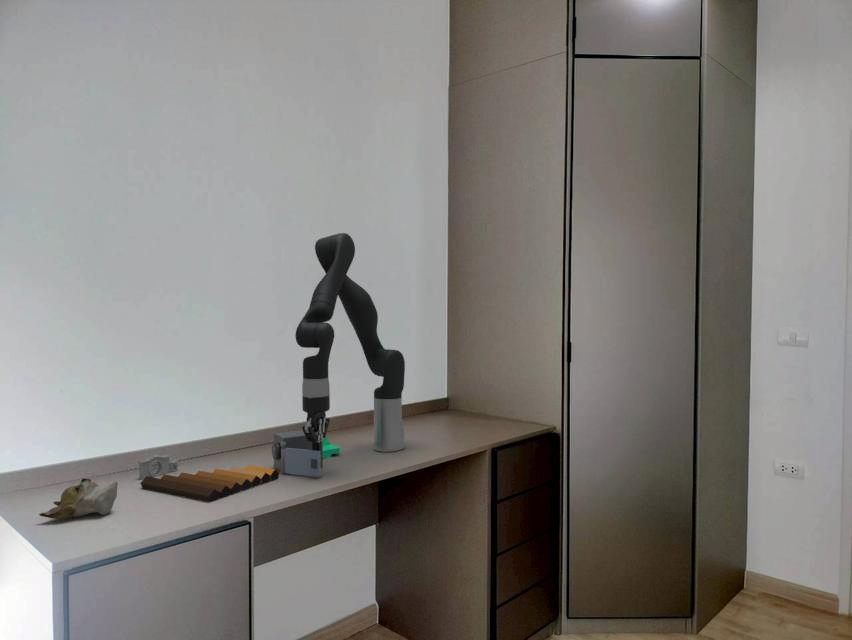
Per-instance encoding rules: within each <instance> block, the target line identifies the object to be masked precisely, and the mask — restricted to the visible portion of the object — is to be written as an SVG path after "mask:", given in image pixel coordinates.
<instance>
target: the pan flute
mask: <svg viewBox="0 0 852 640" xmlns="http://www.w3.org/2000/svg"><path fill="white" fill-rule="evenodd" d="M279 476H280V472H279V470H278V471H277V469H276V468H268V467H260V466H254V465H248V464H247V466H246V467H245V468H241V467H240V468H239V467H234V466H231V467H230V469H229V470H226V469H220V468H219V469H218V468H215V469H213V471H212V472H210V471H203V470H198V471H197V472H195V474H194V473H186V472H180V473H179V475H178V476H175V475H170V474H166V473H165V474H162V476H161V477H160V478H157V477H148V476H146V477H145V478H144V479H142V480H141V482H140V486H141V488H142V489H144V490H150V491H153V492H159V493H163V494H169V495H172V496H174V495H175V496H179V497H182V498H188V499H193V500H198V501H203V502H209V503H212V502H215V501H218V500H219V499H224V498H226V497H230V495H236V494H239V493H241V492H243V491H246V490H249V488H250V489H251V488H252V487H253V488H255V486H256V487H259V486H260V485H264V483H265V484H267V483H270V482H273V481H276V480H278V479H279ZM258 485H259V486H258ZM240 490H241V491H240Z"/></svg>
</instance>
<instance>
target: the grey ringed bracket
mask: <svg viewBox="0 0 852 640" xmlns="http://www.w3.org/2000/svg"><path fill="white" fill-rule="evenodd" d="M170 457H171V455H169V454H168V453H167V454H165V455H158V454H157V455H156V454H155V455H150V456H149V457H148V458H147V459H143V460H139V461H137V463H138V464H139V465H138V466H139V467H138V468H139V469H138V470H139V471H138V472H139V475H138V476H139V479H140V480H143V479H144V478H145V477H146V476H148V477H153V478H156V477H159V476H160V475H164V474H165V475H166V474H168V473H173V472H176V471H178V467H179V466H178V462H179V460H178V459H175V460H173V461H172V460H171V461H170Z"/></svg>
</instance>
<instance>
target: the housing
mask: <svg viewBox="0 0 852 640" xmlns="http://www.w3.org/2000/svg"><path fill="white" fill-rule="evenodd" d="M321 445H322V454H321V455H320V469H321V468H323V467H324V464H323V463H324V458H323V441H322V442H321ZM282 447H285V448H295V449H306V450H312V442H308V441H307V439H306V436H305V434H304V432H303V430H302V429H301V430H294V431H293V430H291V431H284V432H283V431H282V432H275V433H274V432H273V443H272V445H271V455H272V456H271V457H272V459H273V469H275V470H278V471H280V472H281V448H282Z"/></svg>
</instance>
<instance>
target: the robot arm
mask: <svg viewBox="0 0 852 640" xmlns="http://www.w3.org/2000/svg"><path fill="white" fill-rule="evenodd" d="M314 251H315V255H316V258H317V260H318V262H319V264H320V266H321V268H322V269H323V271H324V273H325V275H324V276H323V277H322V279H320V281H319V282H318V283H317V285H316V287H315V288H314V290H313V293H312V296H311V300H310V303H309V308H308V310H307V311H306V312H305V314H304V316H303V317H302V319H301V320H300V321H299V324H298V325H297V327H296V330H295V337H294V338H295V341H296V343H297V345H298V346H299V347H301V348H303V349H304V348H305V349H309V348H310V349H312V348H313V349H318V352H317V354H315V355H311V356H306V357H305V358H304V359H303V360H302V384H301V385H302V386H301V388H302V389H301V392H302V394H301V395H302V397H301V398H302V399H301V400H302V402H301V403H302V411H303V412H304V413H306V425H303V426H302V428H301V430H303V432H304V434H305V436H306V439H307V441H308V442H312V450H316V451H320V455H321V454H322V445H321V442H322V441H323V438H325V436H326V437H327V432H328V429H329V425H330V422H331V421H330V420H331V419H330V418H327V415H326V413H327V412H328V411H329V410H330V408H331V402H330V401H331V398H330V389H331V388H330V380H329V361H330V356H331V350H332V347H333V343H334V339H335V329H334V328H333V326H332V324H330V323H328V322H329V321H331V320H332V318H333V316H334V312H335V308H336V303H337V299H338V298H339V301H340V302H341V304H342V306H343V309H344V312H345V314H346V315H347V317H348V319H349V322H350V324H351V325H352V328H353V330H354V332H355V335H356V337H357V338H358V339H357V340H358V341H359V343H360V345H361V348H362V351H363V354H364V357H365V360H366V362H367V365H368V367H369V369H370V371H371V373H372V374H373V375H375V376H377V377H383V378H382V384H381V386H379V387H376V388H375V389H374V390H373V450H375V451H376V452H383V453H384V452H385V453H388V452H389V453H391V452H392V453H393V452H398V451H401V450H404V449H405V420H404V419H402V418H403V416H402V415H403V412H402V411H403V409H402V408H403V407H402V403H403V401H402V400H403V399H402V397H403V391H404V387H405V373H406V372H405V371H406V370H405V369H406V368H405V367H406V365H405V363H406V362H405V358H404V355H403V353H402V351H399V350H397V349H391V348H390V349H388V348H387V349H385V347H384V346H383V344H382V343H381V340H380V338H379V335H378V331H377V330H378V321H379V315H378V311H377V307H376V306H375V302H374V301H373V299H372V297H371V295H370V293H368V291H367V290H366V289H364V288H363V287H362V286H361V285H359V284H358V283H356V282H355V281H354V280H352V279H351V278H350V277H349V275H347V274H348V271H349V270H350V268H351V265H352V263H353V260H354V258H355V253H356V245H355V242H354V240H353V238H352V237H351V235H349V234H348V233H346V232H341V233H335V234H332V235H329V236H325V237H321V238H319V239H318V240H316V241H315V244H314Z"/></svg>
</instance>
